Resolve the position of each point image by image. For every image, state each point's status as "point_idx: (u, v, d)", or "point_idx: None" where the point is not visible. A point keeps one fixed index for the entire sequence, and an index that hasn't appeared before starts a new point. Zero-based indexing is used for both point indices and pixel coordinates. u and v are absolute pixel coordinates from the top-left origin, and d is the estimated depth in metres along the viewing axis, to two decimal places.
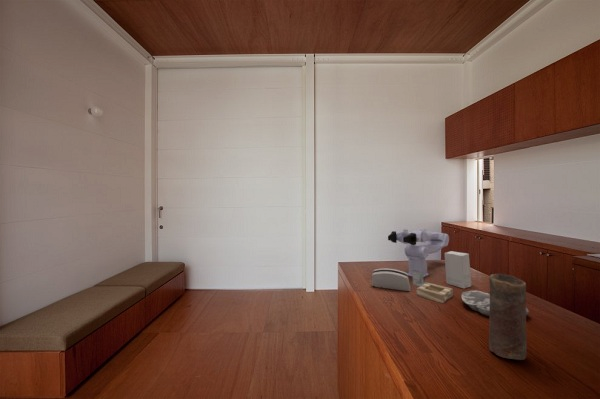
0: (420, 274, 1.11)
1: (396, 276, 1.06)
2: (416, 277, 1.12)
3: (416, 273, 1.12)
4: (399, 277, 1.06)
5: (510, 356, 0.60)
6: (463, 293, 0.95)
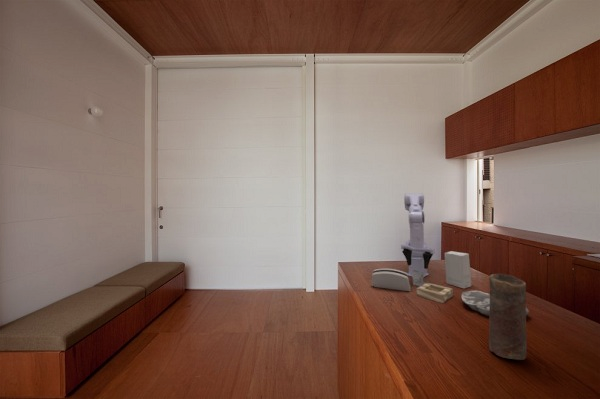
0: (420, 274, 1.11)
1: (396, 276, 1.06)
2: (416, 277, 1.12)
3: (416, 273, 1.12)
4: (399, 277, 1.05)
5: (510, 356, 0.60)
6: (463, 293, 0.95)
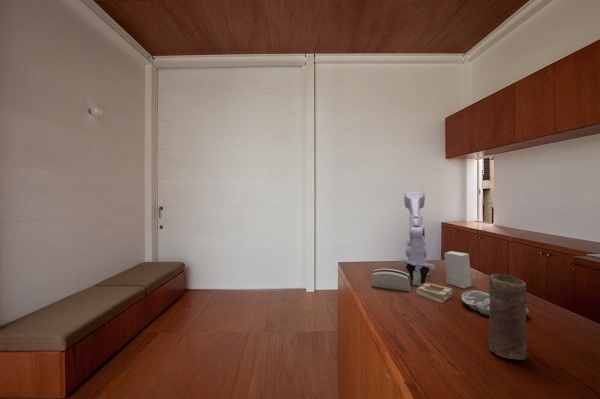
0: (420, 274, 1.11)
1: (396, 276, 1.06)
2: (416, 277, 1.12)
3: (416, 273, 1.12)
4: (399, 277, 1.05)
5: (510, 356, 0.60)
6: (463, 293, 0.95)
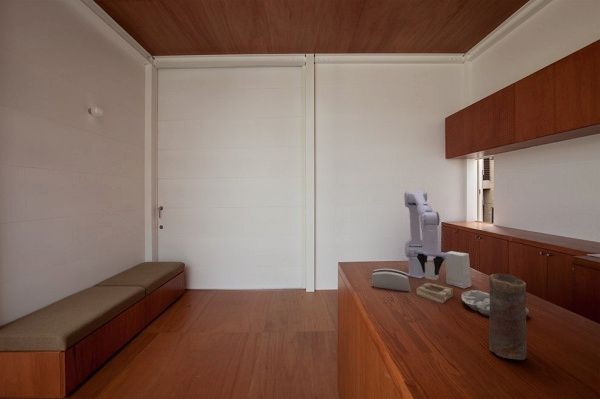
0: None
1: (396, 276, 1.06)
2: (429, 269, 1.01)
3: (429, 265, 1.01)
4: (399, 277, 1.05)
5: (510, 356, 0.60)
6: (463, 293, 0.95)
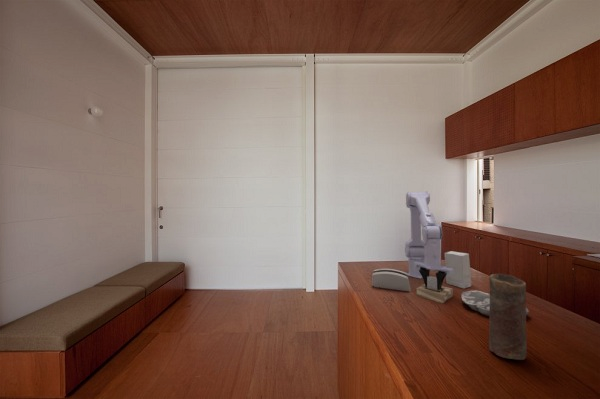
0: (436, 280, 0.98)
1: (396, 276, 1.06)
2: (431, 284, 0.99)
3: (431, 279, 0.99)
4: (399, 277, 1.05)
5: (510, 356, 0.60)
6: (463, 293, 0.95)
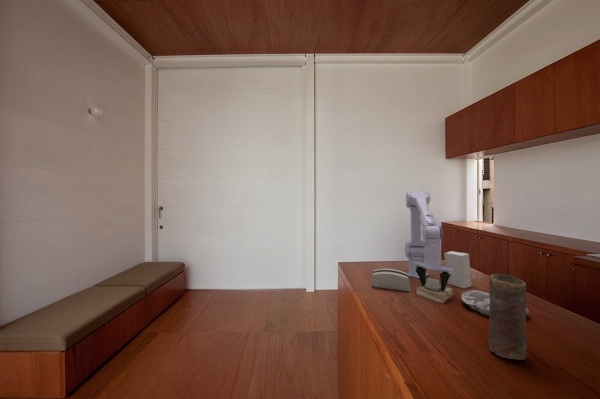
0: (436, 282, 0.98)
1: (396, 276, 1.06)
2: (431, 286, 0.99)
3: (431, 281, 0.99)
4: (399, 277, 1.05)
5: (510, 356, 0.60)
6: (463, 293, 0.95)
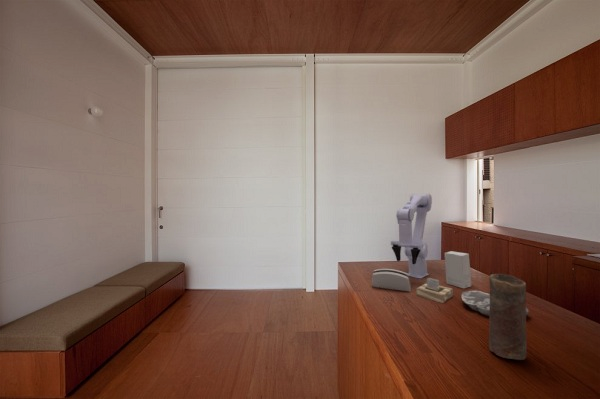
0: (436, 282, 0.98)
1: (396, 276, 1.06)
2: (431, 286, 0.99)
3: (431, 281, 0.99)
4: (399, 277, 1.05)
5: (510, 356, 0.60)
6: (463, 293, 0.95)
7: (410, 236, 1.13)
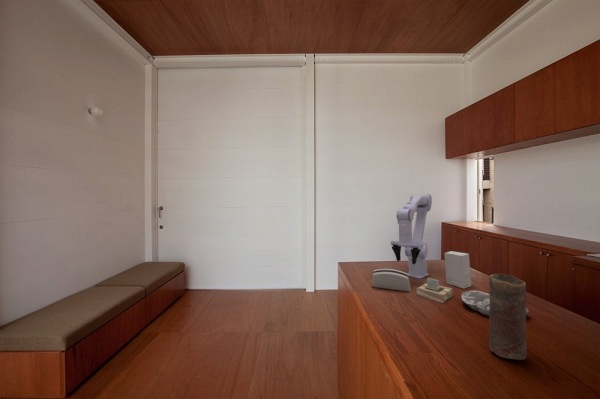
0: (436, 282, 0.98)
1: (396, 276, 1.06)
2: (431, 286, 0.99)
3: (431, 281, 0.99)
4: (399, 277, 1.05)
5: (510, 356, 0.60)
6: (463, 293, 0.95)
7: (410, 236, 1.13)
